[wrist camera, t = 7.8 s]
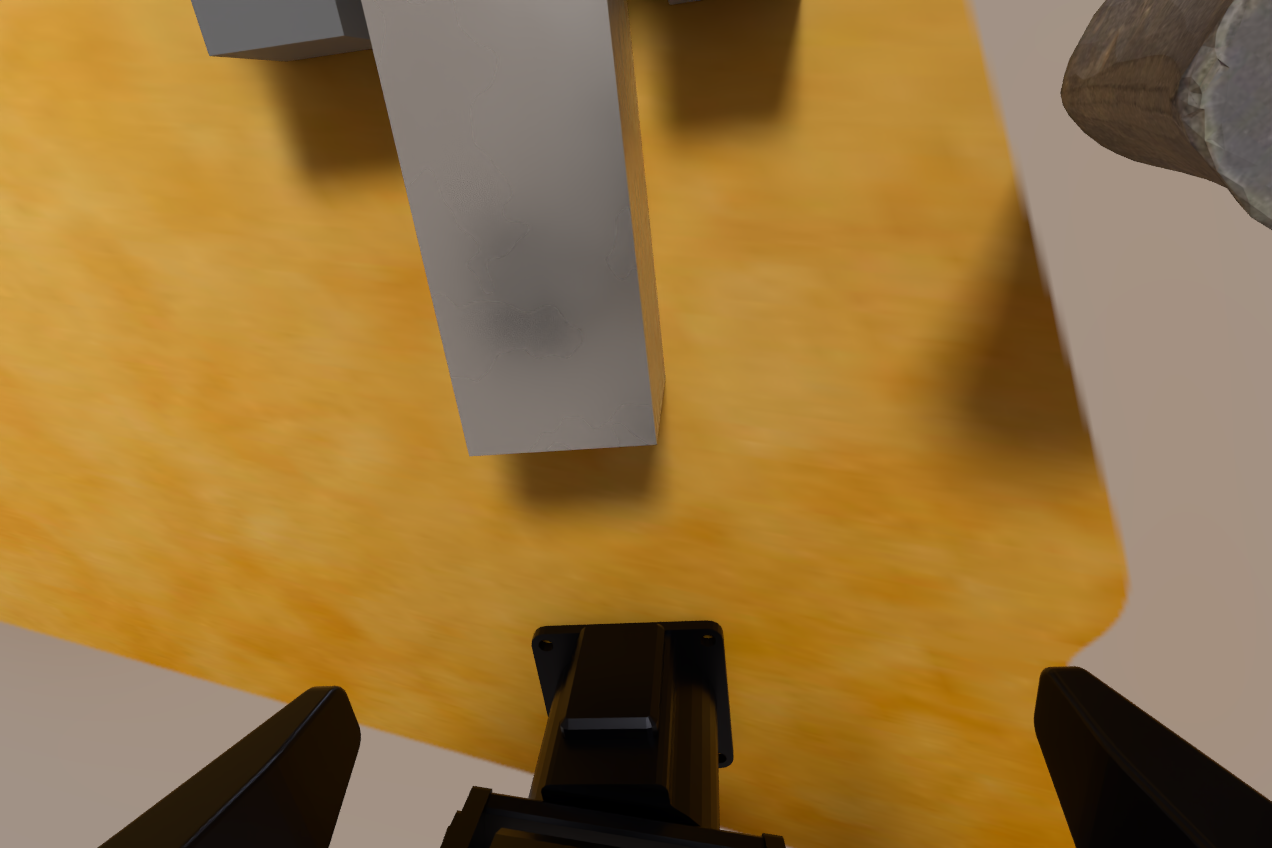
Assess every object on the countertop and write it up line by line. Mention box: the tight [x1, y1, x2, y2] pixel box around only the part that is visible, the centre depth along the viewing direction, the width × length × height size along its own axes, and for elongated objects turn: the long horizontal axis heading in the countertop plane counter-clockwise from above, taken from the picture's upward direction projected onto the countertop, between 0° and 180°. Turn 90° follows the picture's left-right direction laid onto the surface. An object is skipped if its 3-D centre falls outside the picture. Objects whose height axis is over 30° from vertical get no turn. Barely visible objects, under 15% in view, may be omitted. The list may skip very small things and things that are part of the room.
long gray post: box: [361, 0, 665, 456], centre depth 16 cm, size 12×4×4 cm, turn 7°
